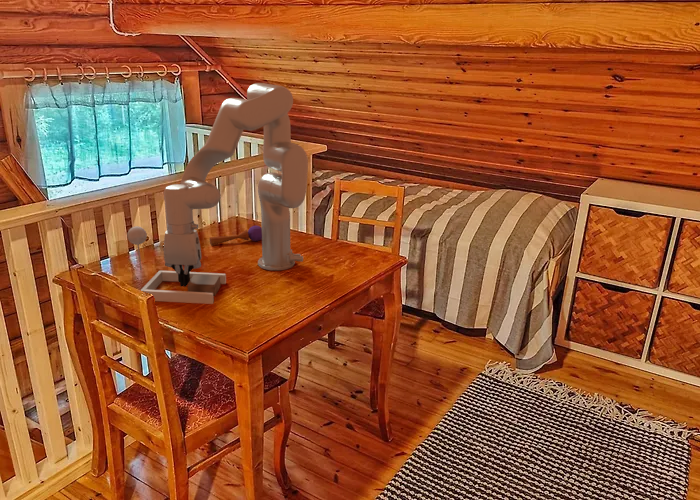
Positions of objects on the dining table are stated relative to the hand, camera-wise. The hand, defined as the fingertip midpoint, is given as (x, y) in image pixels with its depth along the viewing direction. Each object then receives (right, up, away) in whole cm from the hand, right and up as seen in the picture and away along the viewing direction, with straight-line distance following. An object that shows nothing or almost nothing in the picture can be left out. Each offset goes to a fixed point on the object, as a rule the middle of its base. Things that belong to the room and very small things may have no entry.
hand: (184, 284), depth 172 cm
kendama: (+8, +13, +42) cm, 45 cm away
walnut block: (+6, -2, +2) cm, 6 cm away
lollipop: (-19, +4, +15) cm, 24 cm away
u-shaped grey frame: (0, -2, +1) cm, 2 cm away
